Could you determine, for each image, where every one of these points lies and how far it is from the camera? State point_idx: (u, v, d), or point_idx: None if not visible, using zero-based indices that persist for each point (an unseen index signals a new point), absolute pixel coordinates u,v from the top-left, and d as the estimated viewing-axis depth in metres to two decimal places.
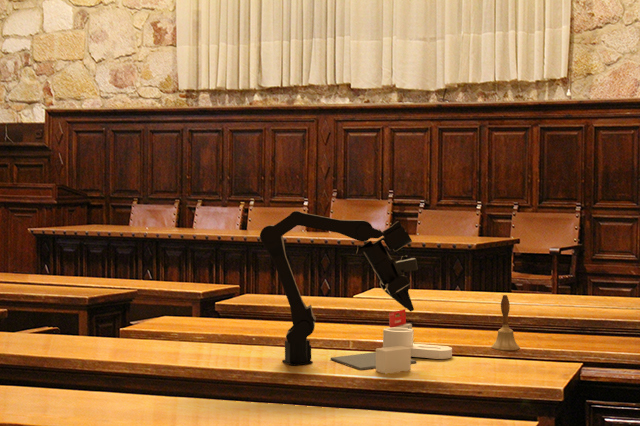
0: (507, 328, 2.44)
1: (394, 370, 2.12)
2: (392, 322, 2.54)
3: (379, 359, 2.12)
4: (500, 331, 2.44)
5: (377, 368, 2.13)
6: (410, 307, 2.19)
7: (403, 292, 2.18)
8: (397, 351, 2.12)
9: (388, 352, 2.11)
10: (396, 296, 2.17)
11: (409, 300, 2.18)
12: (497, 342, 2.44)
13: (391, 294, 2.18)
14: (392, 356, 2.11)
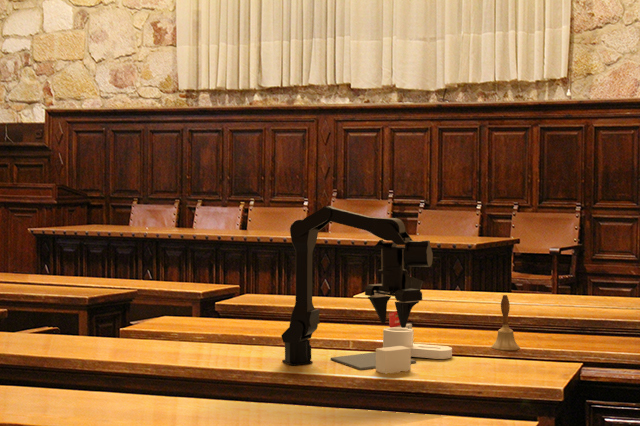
0: (507, 328, 2.44)
1: (394, 370, 2.12)
2: (392, 322, 2.54)
3: (379, 359, 2.12)
4: (500, 331, 2.44)
5: (377, 368, 2.13)
6: (404, 323, 2.10)
7: (407, 306, 2.09)
8: (397, 351, 2.12)
9: (388, 352, 2.11)
10: (401, 306, 2.07)
11: (407, 316, 2.09)
12: (497, 342, 2.44)
13: (398, 302, 2.07)
14: (392, 356, 2.11)
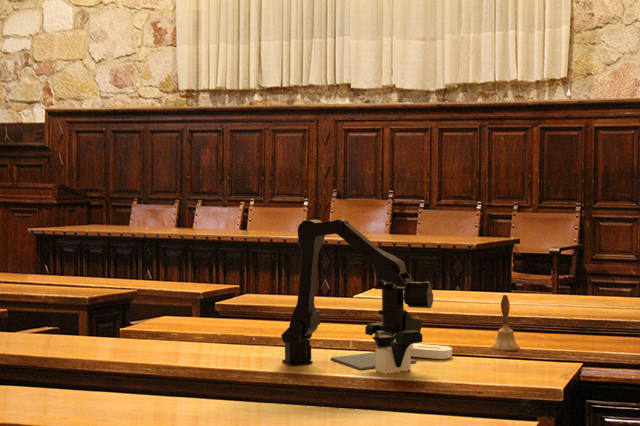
0: (507, 328, 2.44)
1: (394, 370, 2.12)
2: None
3: (379, 359, 2.12)
4: (500, 331, 2.44)
5: (377, 368, 2.13)
6: (399, 363, 2.12)
7: (402, 346, 2.11)
8: None
9: (388, 352, 2.11)
10: (396, 346, 2.09)
11: (402, 356, 2.11)
12: (497, 342, 2.44)
13: (393, 342, 2.09)
14: (392, 356, 2.11)
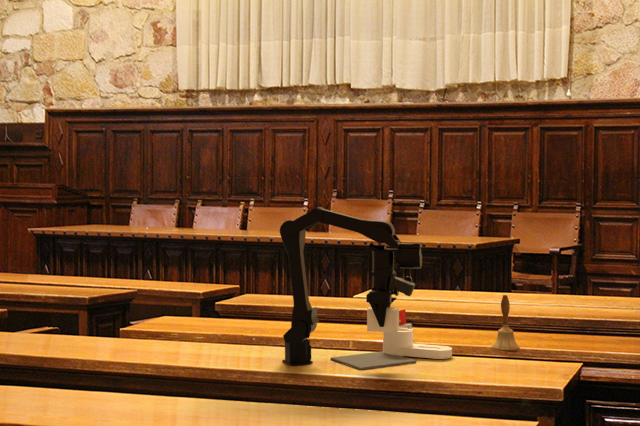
0: (507, 328, 2.44)
1: (377, 329, 2.17)
2: None
3: None
4: (500, 331, 2.44)
5: None
6: (381, 323, 2.16)
7: (382, 306, 2.16)
8: None
9: (370, 310, 2.18)
10: (373, 305, 2.15)
11: (383, 316, 2.16)
12: (497, 342, 2.44)
13: None
14: None
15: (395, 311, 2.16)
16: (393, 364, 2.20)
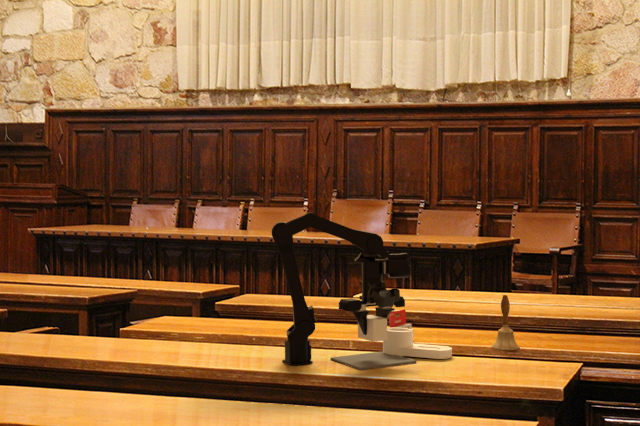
0: (507, 328, 2.44)
1: (363, 336, 2.26)
2: (392, 322, 2.54)
3: None
4: (500, 331, 2.44)
5: None
6: (363, 331, 2.25)
7: None
8: None
9: None
10: (355, 313, 2.26)
11: (363, 324, 2.24)
12: (497, 342, 2.44)
13: None
14: None
15: (372, 321, 2.22)
16: (393, 364, 2.20)
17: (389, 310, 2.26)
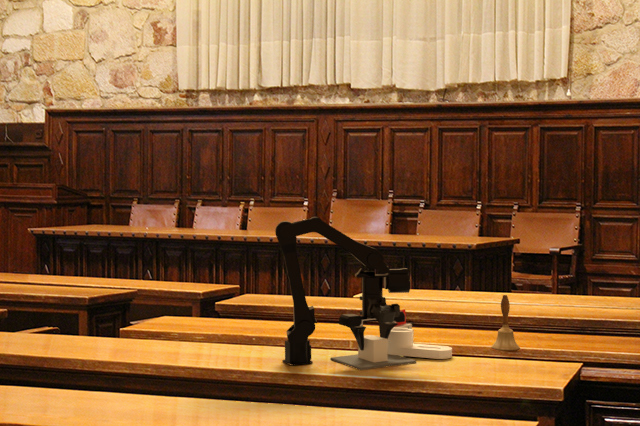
0: (507, 328, 2.44)
1: (363, 356, 2.26)
2: None
3: None
4: (500, 331, 2.44)
5: None
6: (360, 346, 2.24)
7: None
8: (365, 339, 2.25)
9: None
10: (352, 329, 2.25)
11: (360, 340, 2.23)
12: (497, 342, 2.44)
13: None
14: None
15: (372, 341, 2.22)
16: (393, 364, 2.20)
17: (392, 325, 2.26)
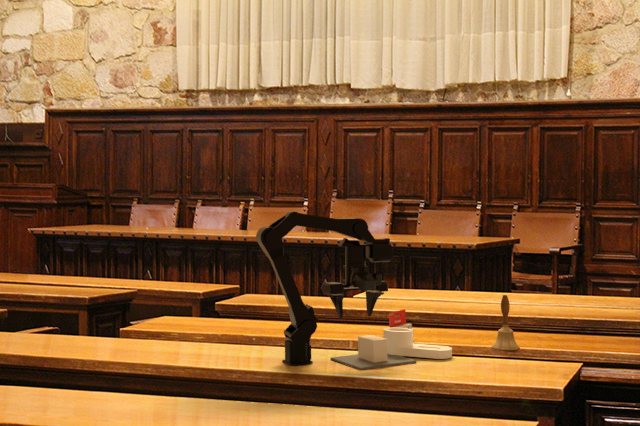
0: (507, 328, 2.44)
1: (363, 356, 2.26)
2: (392, 322, 2.54)
3: None
4: (500, 331, 2.44)
5: None
6: (339, 314, 2.27)
7: None
8: (365, 339, 2.25)
9: (360, 338, 2.28)
10: (331, 297, 2.28)
11: (338, 308, 2.26)
12: (497, 342, 2.44)
13: None
14: (362, 343, 2.27)
15: (372, 341, 2.22)
16: (393, 364, 2.20)
17: (378, 294, 2.30)
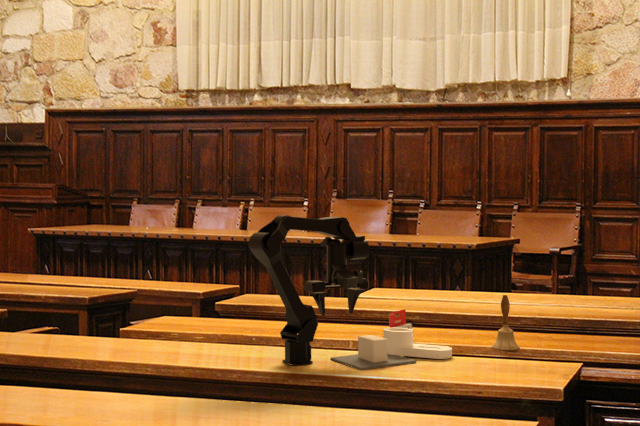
0: (507, 328, 2.44)
1: (363, 356, 2.26)
2: (392, 322, 2.54)
3: None
4: (500, 331, 2.44)
5: None
6: (321, 312, 2.31)
7: None
8: (365, 339, 2.25)
9: (360, 338, 2.28)
10: (314, 295, 2.32)
11: (321, 306, 2.30)
12: (497, 342, 2.44)
13: None
14: (362, 343, 2.27)
15: (372, 341, 2.22)
16: (393, 364, 2.20)
17: (360, 291, 2.34)
